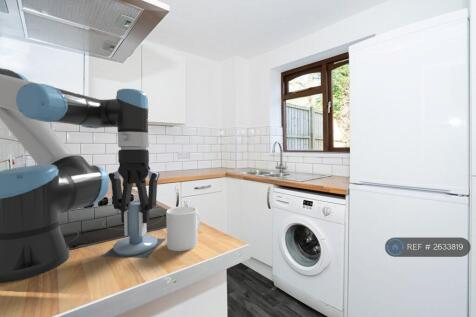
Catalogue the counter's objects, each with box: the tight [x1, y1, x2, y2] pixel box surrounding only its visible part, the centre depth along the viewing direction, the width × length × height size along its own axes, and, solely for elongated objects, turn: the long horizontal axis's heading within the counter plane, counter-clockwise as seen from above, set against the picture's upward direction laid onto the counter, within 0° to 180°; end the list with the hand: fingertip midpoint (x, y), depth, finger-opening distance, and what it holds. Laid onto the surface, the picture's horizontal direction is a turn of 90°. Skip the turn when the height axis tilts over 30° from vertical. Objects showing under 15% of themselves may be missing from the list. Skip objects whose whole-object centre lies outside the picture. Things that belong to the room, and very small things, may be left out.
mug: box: [165, 206, 201, 252], centre depth 66 cm, size 12×8×10 cm
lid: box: [112, 202, 157, 256], centre depth 63 cm, size 11×11×12 cm
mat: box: [101, 237, 166, 259], centre depth 63 cm, size 12×12×1 cm
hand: (135, 234), depth 63 cm, fingers closed on lid, 3 cm apart
